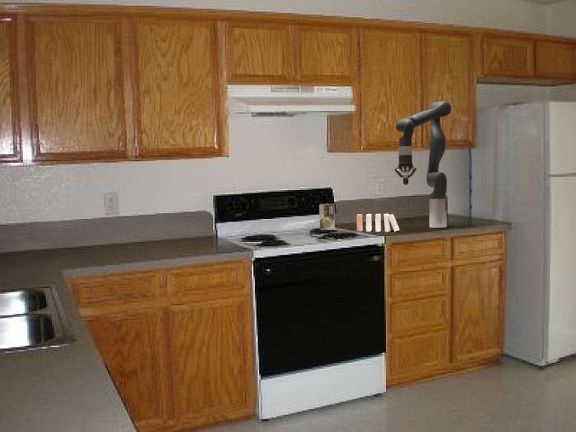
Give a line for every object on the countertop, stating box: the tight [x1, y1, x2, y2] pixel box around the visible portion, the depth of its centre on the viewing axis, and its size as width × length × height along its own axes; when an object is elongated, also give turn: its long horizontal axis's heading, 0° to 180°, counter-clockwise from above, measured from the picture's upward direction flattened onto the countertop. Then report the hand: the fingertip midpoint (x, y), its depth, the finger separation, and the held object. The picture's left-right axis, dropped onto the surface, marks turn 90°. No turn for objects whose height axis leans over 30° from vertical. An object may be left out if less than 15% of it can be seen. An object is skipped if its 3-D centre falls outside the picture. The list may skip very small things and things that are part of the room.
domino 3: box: [374, 213, 382, 233], centre depth 353 cm, size 2×5×10 cm, turn 163°
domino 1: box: [356, 213, 364, 232], centre depth 357 cm, size 2×5×10 cm, turn 163°
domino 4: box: [383, 213, 391, 233], centre depth 352 cm, size 2×5×10 cm, turn 163°
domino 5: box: [388, 213, 400, 233], centre depth 351 cm, size 2×5×10 cm, turn 163°
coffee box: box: [318, 203, 336, 231], centre depth 367 cm, size 9×6×16 cm
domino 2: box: [365, 213, 373, 233], centre depth 355 cm, size 2×5×10 cm, turn 163°
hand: (405, 184), depth 347 cm, fingers closed
